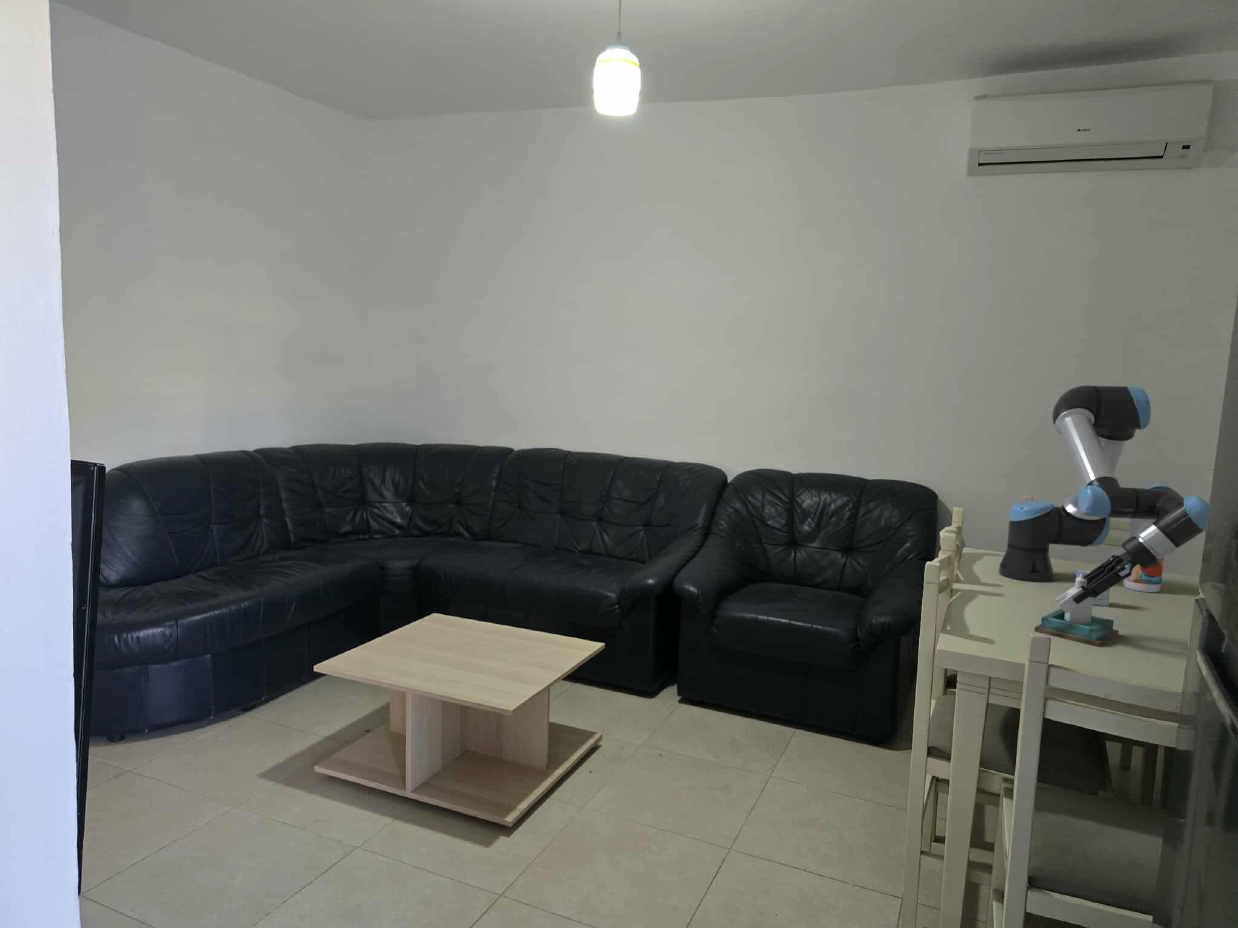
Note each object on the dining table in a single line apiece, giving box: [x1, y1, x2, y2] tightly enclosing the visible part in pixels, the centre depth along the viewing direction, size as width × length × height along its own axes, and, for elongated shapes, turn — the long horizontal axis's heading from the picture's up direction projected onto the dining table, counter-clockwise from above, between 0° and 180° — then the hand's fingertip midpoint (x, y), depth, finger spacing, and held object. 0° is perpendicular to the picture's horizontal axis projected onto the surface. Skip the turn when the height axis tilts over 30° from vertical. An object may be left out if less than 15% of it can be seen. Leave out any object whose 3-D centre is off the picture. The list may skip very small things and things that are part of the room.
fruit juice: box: [1122, 519, 1165, 593], centre depth 236 cm, size 9×9×28 cm
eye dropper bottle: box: [1065, 574, 1093, 624], centre depth 193 cm, size 4×6×12 cm
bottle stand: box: [1034, 608, 1119, 648], centre depth 194 cm, size 14×14×4 cm
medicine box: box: [1075, 569, 1111, 608], centre depth 220 cm, size 8×4×9 cm, turn 65°
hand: (1061, 606), depth 195 cm, fingers closed on eye dropper bottle, 4 cm apart
